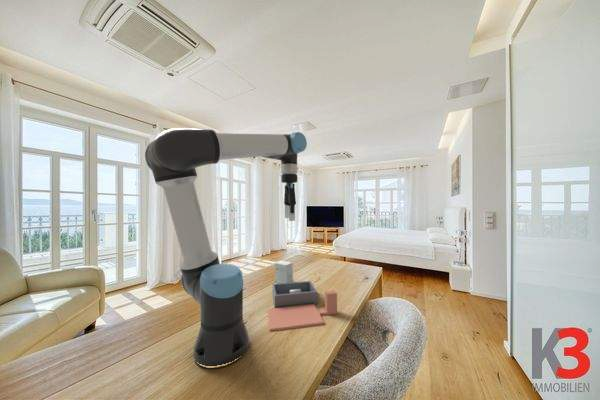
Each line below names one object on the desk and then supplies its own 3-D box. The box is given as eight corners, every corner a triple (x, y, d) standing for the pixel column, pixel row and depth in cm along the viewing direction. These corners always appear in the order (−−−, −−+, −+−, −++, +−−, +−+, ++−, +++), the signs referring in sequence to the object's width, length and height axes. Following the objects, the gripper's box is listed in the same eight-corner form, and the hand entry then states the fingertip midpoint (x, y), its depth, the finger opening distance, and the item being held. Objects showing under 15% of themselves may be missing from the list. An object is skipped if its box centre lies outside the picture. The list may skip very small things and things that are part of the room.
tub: (274, 308, 85) (274, 295, 85) (272, 295, 96) (272, 284, 96) (317, 303, 88) (317, 291, 88) (310, 291, 100) (310, 281, 100)
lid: (269, 331, 70) (269, 307, 70) (267, 311, 83) (267, 290, 83) (342, 321, 75) (342, 299, 75) (330, 304, 88) (330, 285, 88)
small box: (293, 282, 112) (293, 262, 112) (286, 285, 107) (286, 265, 107) (281, 279, 116) (281, 260, 116) (274, 282, 111) (274, 262, 111)
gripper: (302, 170, 87) (303, 221, 87) (292, 177, 111) (292, 217, 111) (284, 170, 85) (285, 222, 85) (278, 176, 110) (278, 217, 110)
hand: (289, 219), depth 98 cm, fingers open, 13 cm apart
